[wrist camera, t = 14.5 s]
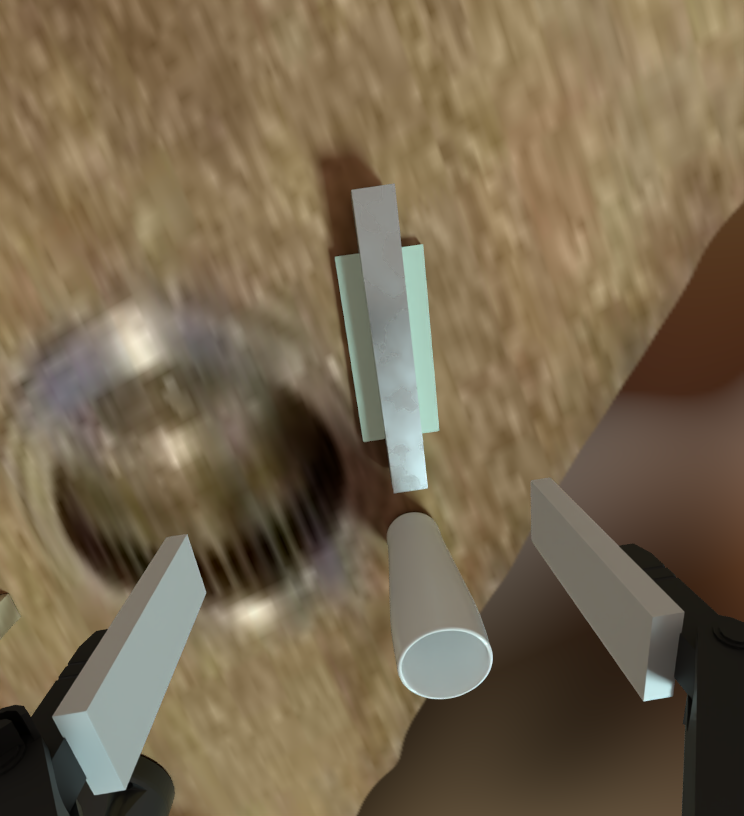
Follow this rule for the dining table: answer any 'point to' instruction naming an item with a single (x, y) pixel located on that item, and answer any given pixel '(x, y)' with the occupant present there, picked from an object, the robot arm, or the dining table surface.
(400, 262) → the steel rail
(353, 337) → the sage board
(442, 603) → the drinking glass
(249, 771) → the dining table surface
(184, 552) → the robot arm
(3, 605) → the hook stands
